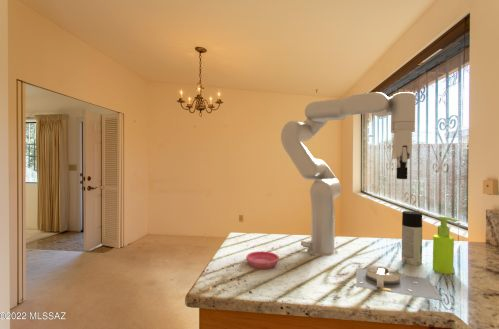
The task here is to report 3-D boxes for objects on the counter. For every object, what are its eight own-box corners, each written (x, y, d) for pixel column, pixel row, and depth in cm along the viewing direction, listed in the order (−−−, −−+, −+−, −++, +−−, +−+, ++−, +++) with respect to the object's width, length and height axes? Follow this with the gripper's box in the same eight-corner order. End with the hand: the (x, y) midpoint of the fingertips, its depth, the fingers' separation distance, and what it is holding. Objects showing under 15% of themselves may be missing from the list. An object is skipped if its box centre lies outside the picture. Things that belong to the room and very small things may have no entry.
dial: (368, 269, 95) (368, 257, 95) (400, 275, 90) (400, 263, 90) (362, 283, 84) (362, 270, 84) (399, 292, 79) (399, 278, 78)
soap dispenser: (450, 279, 91) (452, 220, 90) (429, 272, 97) (430, 216, 97) (460, 276, 93) (461, 218, 93) (438, 269, 100) (439, 214, 99)
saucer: (252, 257, 111) (252, 249, 111) (282, 261, 107) (282, 253, 107) (241, 268, 99) (241, 259, 99) (274, 273, 95) (274, 264, 95)
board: (356, 290, 82) (356, 285, 82) (355, 269, 98) (355, 266, 98) (442, 304, 75) (442, 299, 75) (426, 279, 90) (426, 275, 90)
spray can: (424, 268, 100) (425, 214, 100) (404, 267, 101) (405, 213, 101) (417, 262, 106) (418, 211, 106) (398, 260, 108) (399, 210, 108)
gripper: (388, 130, 106) (387, 177, 106) (394, 125, 92) (393, 179, 92) (410, 129, 103) (409, 178, 103) (419, 124, 89) (418, 180, 89)
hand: (401, 178), depth 98 cm, fingers closed
